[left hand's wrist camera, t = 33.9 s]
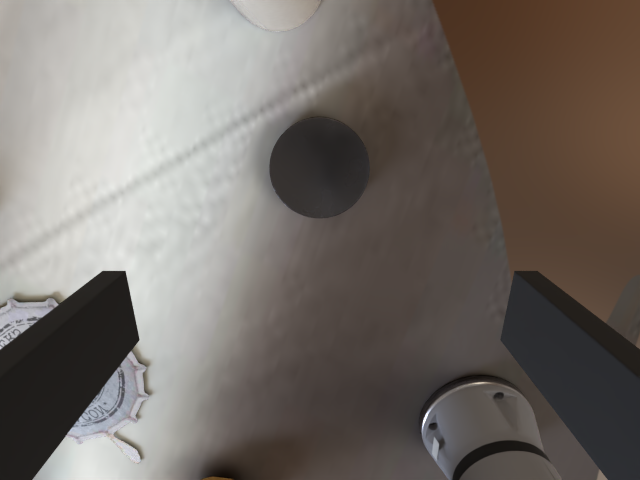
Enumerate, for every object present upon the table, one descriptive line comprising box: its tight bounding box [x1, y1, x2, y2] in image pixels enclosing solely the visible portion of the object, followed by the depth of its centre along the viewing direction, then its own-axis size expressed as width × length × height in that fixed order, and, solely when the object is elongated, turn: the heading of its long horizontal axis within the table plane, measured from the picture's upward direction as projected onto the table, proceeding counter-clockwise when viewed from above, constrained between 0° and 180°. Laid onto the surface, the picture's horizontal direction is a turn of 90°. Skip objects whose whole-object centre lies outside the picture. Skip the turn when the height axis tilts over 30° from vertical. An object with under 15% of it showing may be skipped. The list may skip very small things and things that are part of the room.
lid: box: [270, 117, 370, 218], centre depth 39 cm, size 10×10×2 cm
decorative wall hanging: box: [0, 298, 149, 463], centre depth 50 cm, size 24×1×30 cm
